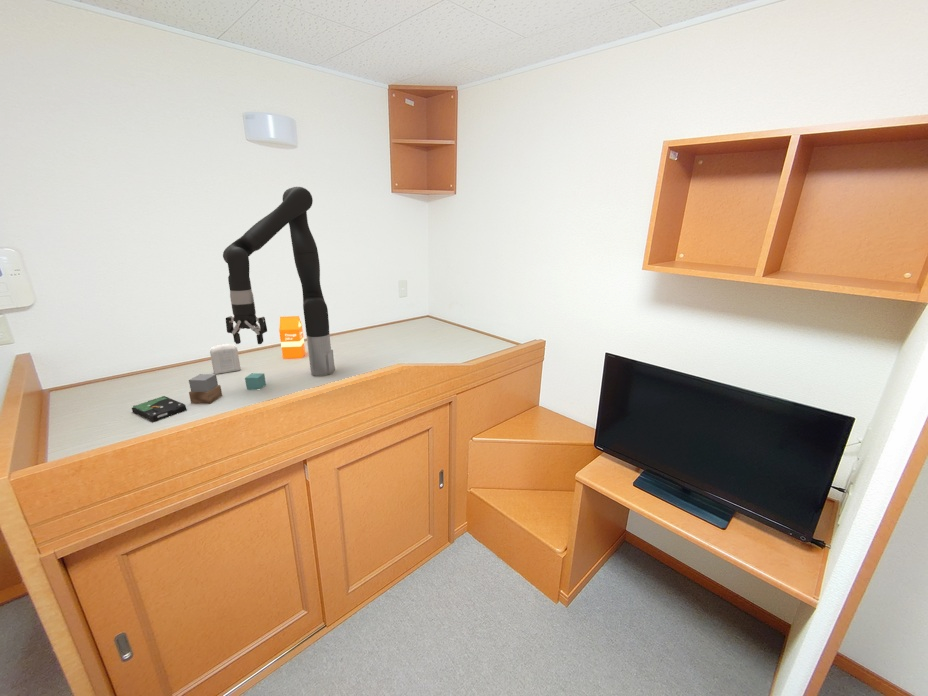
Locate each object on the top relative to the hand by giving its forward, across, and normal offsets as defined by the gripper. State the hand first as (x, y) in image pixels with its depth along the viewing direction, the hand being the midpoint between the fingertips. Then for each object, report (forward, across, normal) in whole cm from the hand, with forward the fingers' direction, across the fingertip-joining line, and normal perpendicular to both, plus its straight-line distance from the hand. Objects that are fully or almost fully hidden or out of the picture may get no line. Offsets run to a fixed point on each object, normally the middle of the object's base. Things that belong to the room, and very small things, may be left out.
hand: (249, 343), depth 151 cm
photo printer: (+18, +22, -17) cm, 33 cm away
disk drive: (+19, +22, +22) cm, 36 cm away
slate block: (+14, +12, +12) cm, 22 cm away
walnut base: (+18, +12, +12) cm, 25 cm away
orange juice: (+18, +2, -39) cm, 43 cm away
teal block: (+18, 0, 0) cm, 18 cm away
